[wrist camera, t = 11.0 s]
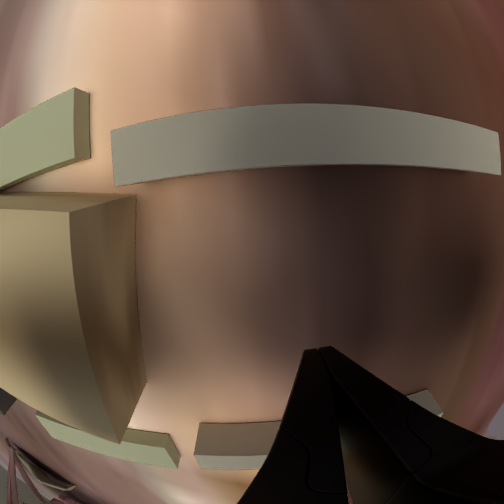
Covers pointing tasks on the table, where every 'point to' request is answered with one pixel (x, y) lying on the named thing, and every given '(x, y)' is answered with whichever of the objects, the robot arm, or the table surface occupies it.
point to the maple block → (71, 308)
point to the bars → (44, 160)
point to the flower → (38, 475)
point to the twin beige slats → (288, 155)
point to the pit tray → (5, 401)
